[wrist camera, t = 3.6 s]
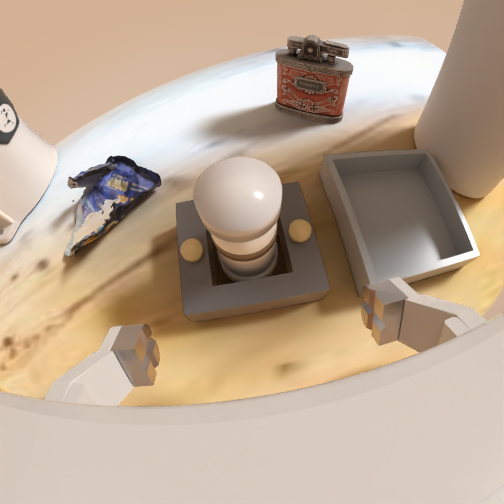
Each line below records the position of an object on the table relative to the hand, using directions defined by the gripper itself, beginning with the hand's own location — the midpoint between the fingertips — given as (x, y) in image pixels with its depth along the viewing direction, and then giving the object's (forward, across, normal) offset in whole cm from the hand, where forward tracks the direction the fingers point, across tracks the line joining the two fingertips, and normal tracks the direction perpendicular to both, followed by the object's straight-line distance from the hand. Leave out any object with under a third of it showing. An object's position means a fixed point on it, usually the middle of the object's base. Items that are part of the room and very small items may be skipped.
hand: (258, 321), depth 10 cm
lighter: (+25, -10, -9) cm, 28 cm away
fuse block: (+13, 0, +3) cm, 13 cm away
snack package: (+19, +13, -2) cm, 23 cm away
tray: (+14, -14, +2) cm, 20 cm away
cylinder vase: (+19, -27, -3) cm, 33 cm away
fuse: (+13, 0, +3) cm, 13 cm away
